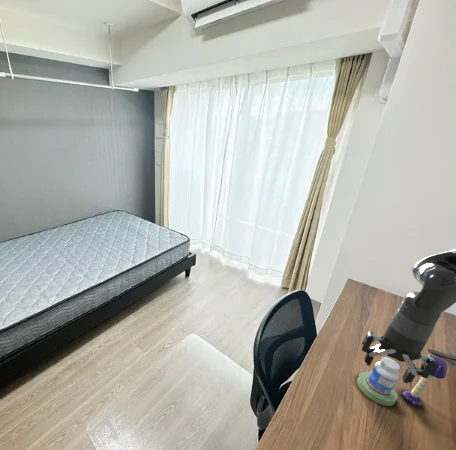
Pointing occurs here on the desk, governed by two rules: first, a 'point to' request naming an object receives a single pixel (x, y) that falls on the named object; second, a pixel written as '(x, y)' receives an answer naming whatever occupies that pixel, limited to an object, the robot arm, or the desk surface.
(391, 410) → the desk surface
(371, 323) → the desk surface
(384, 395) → the coaster
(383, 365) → the pill bottle
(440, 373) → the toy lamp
